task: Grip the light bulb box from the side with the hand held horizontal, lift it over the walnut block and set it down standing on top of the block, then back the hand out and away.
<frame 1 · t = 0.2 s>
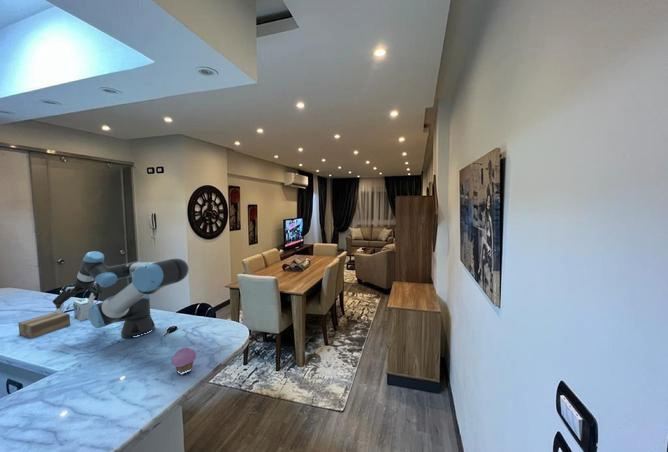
hand: (74, 307, 143), 15 cm above the counter, tool tilted 35°, fingers open, 13 cm apart
light bulb box: (84, 317, 166), on the counter
cupcake: (184, 373, 111), on the counter
walnut block: (45, 330, 149), on the counter
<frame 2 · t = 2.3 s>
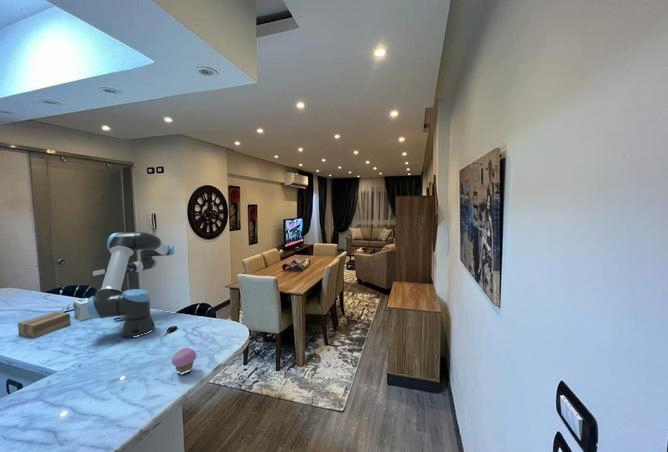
hand: (99, 274, 173), 25 cm above the counter, tool horizontal, fingers open, 13 cm apart
nothing on the counter moved.
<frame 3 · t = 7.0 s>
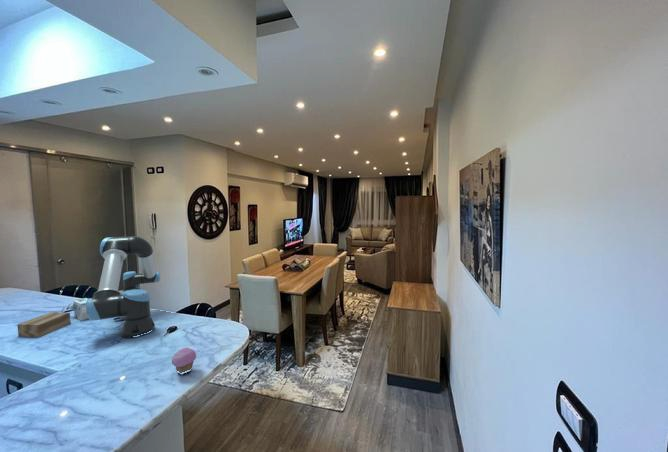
hand: (76, 309, 162), 7 cm above the counter, tool horizontal, fingers closed on light bulb box, 11 cm apart
light bulb box: (84, 317, 166), on the counter, touching gripper
when the fingers open (15 cm above the counter, at t = 12.6 s): light bulb box drops 2 cm, resting on walnut block.
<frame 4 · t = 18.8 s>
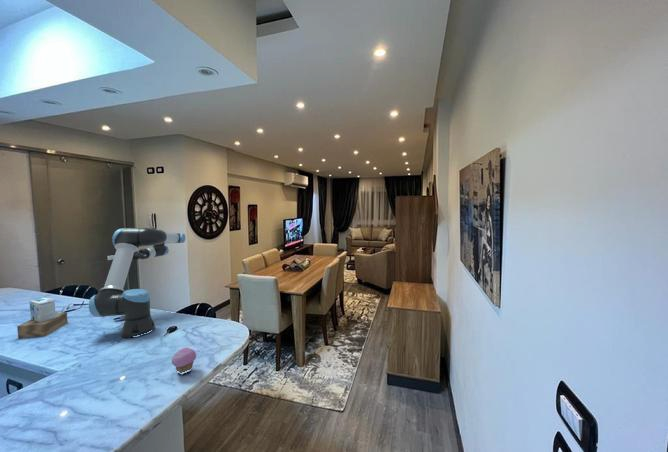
hand: (114, 258, 175), 35 cm above the counter, tool horizontal, fingers open, 13 cm apart
light bulb box: (43, 319, 148), point 6 cm above the counter, touching walnut block
walnut block: (44, 330, 149), on the counter, touching light bulb box
everything else where it was.
at the end: light bulb box inside the target area on the walnut block (0.4 cm from its centre), point 6.8 cm above the walnut block's base; light bulb box tilted 0°; light bulb box touching walnut block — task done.
